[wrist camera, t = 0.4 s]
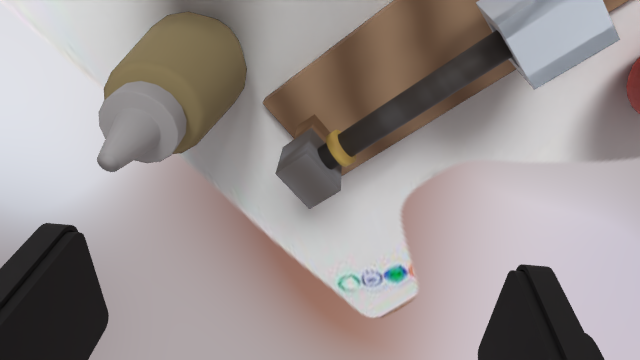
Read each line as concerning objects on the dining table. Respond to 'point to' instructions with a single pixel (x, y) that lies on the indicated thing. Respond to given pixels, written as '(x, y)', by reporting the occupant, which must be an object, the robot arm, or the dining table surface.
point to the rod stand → (383, 88)
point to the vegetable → (634, 86)
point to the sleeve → (549, 33)
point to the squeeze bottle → (170, 90)
